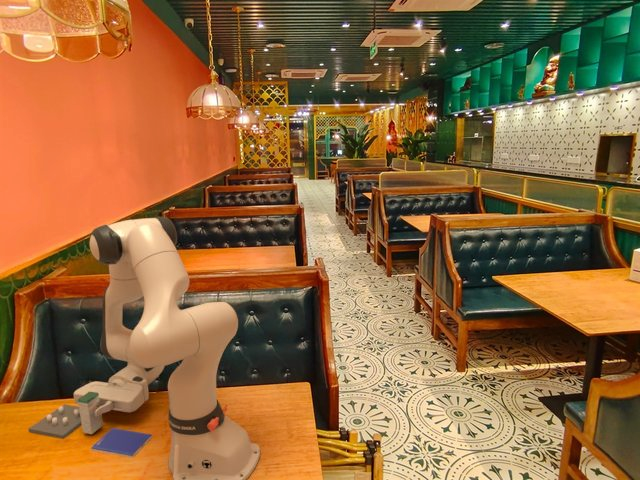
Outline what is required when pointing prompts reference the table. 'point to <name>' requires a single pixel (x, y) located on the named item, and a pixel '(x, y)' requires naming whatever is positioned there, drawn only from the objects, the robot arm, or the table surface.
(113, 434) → the hard drive
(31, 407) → the table surface
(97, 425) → the block
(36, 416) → the table surface
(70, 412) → the dock
